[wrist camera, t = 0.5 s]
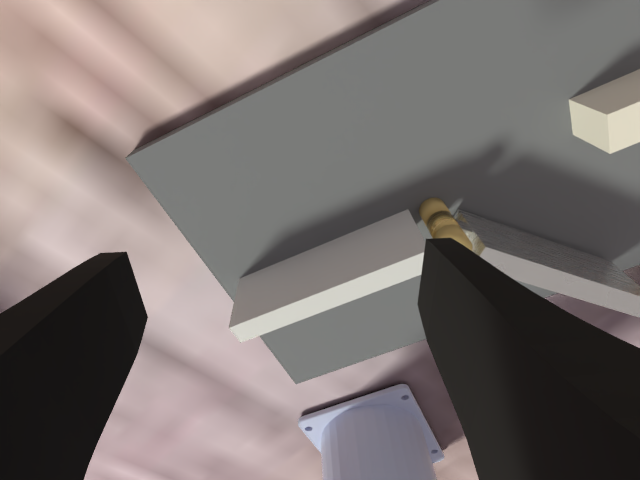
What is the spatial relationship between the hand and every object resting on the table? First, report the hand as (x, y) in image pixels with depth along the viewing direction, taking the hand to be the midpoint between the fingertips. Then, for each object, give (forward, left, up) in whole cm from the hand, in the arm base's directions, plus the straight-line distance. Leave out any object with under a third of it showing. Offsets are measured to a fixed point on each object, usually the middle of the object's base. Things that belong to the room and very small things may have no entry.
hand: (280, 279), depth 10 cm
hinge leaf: (-8, -8, -8) cm, 14 cm away
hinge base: (-5, -5, -10) cm, 12 cm away
